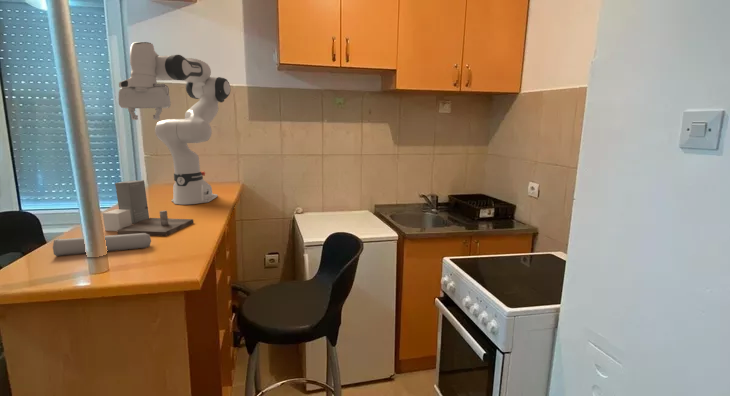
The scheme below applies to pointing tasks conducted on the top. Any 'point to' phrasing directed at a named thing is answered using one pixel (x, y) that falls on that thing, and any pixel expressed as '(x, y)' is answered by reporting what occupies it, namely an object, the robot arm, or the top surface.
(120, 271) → the top surface
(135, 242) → the tube
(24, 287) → the top surface
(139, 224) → the peg board
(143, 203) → the skincare box
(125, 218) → the grey cube
